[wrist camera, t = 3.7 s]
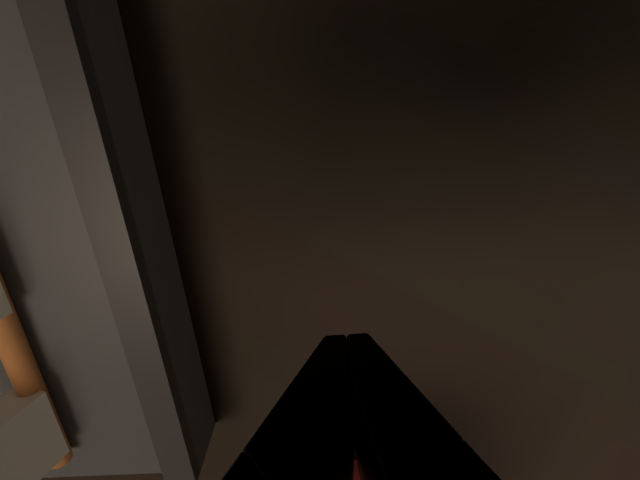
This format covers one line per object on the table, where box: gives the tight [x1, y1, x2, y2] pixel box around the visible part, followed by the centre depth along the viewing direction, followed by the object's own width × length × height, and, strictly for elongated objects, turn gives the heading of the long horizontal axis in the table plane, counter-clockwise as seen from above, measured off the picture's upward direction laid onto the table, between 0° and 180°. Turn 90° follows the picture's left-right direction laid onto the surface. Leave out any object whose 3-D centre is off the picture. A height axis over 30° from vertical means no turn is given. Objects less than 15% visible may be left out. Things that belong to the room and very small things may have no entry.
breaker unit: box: [0, 0, 215, 480], centre depth 16 cm, size 10×19×3 cm, turn 5°
